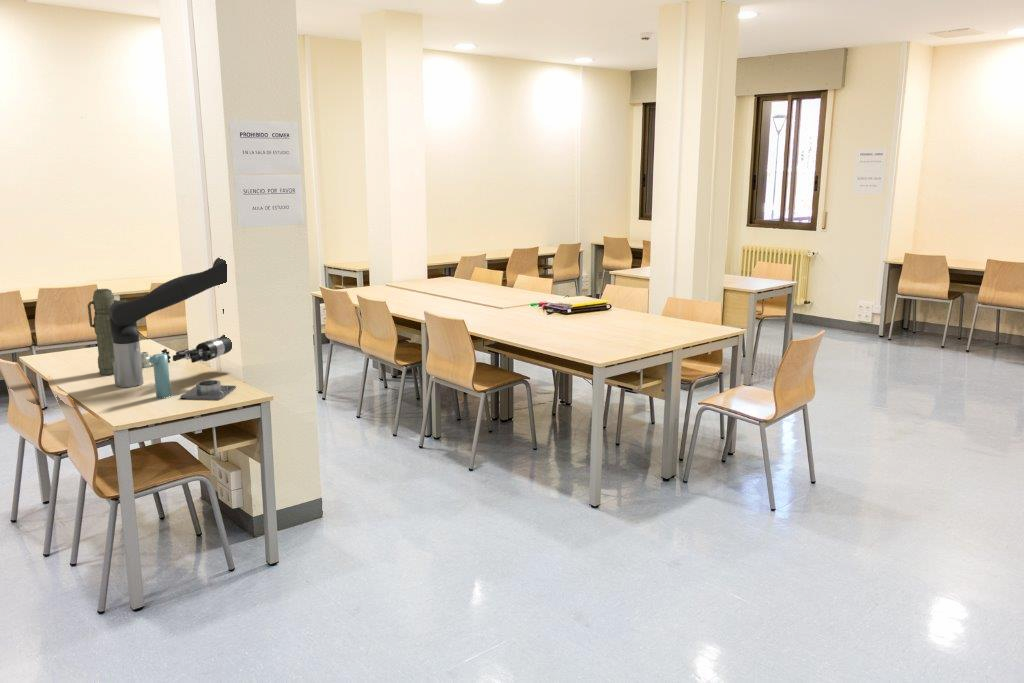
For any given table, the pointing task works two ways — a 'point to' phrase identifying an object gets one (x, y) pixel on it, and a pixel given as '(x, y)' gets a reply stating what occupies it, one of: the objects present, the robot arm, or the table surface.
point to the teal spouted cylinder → (161, 375)
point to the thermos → (103, 329)
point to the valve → (146, 359)
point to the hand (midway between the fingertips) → (182, 359)
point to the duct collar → (208, 390)
